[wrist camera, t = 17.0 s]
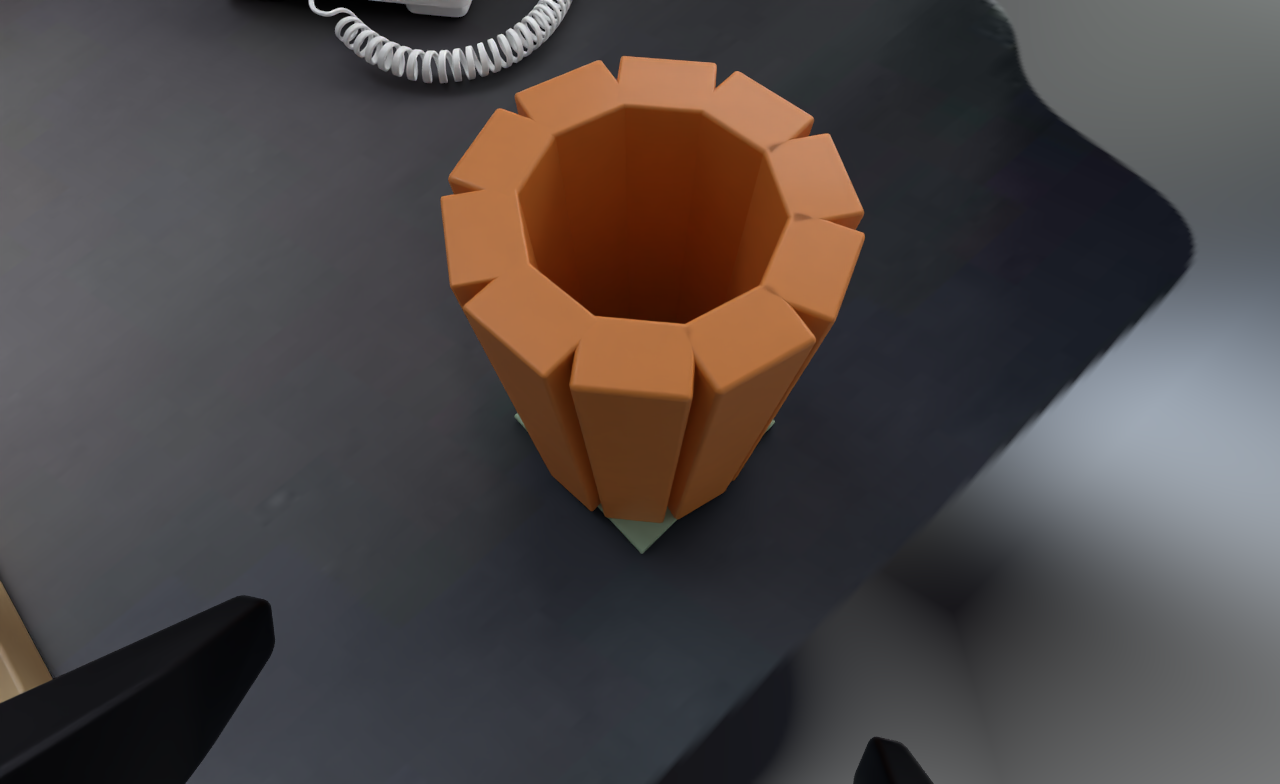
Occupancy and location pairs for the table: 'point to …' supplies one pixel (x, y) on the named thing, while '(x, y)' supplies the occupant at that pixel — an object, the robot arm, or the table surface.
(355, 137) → the table surface
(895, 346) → the table surface
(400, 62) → the telephone
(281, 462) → the table surface
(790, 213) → the pen holder
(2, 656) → the ring board
